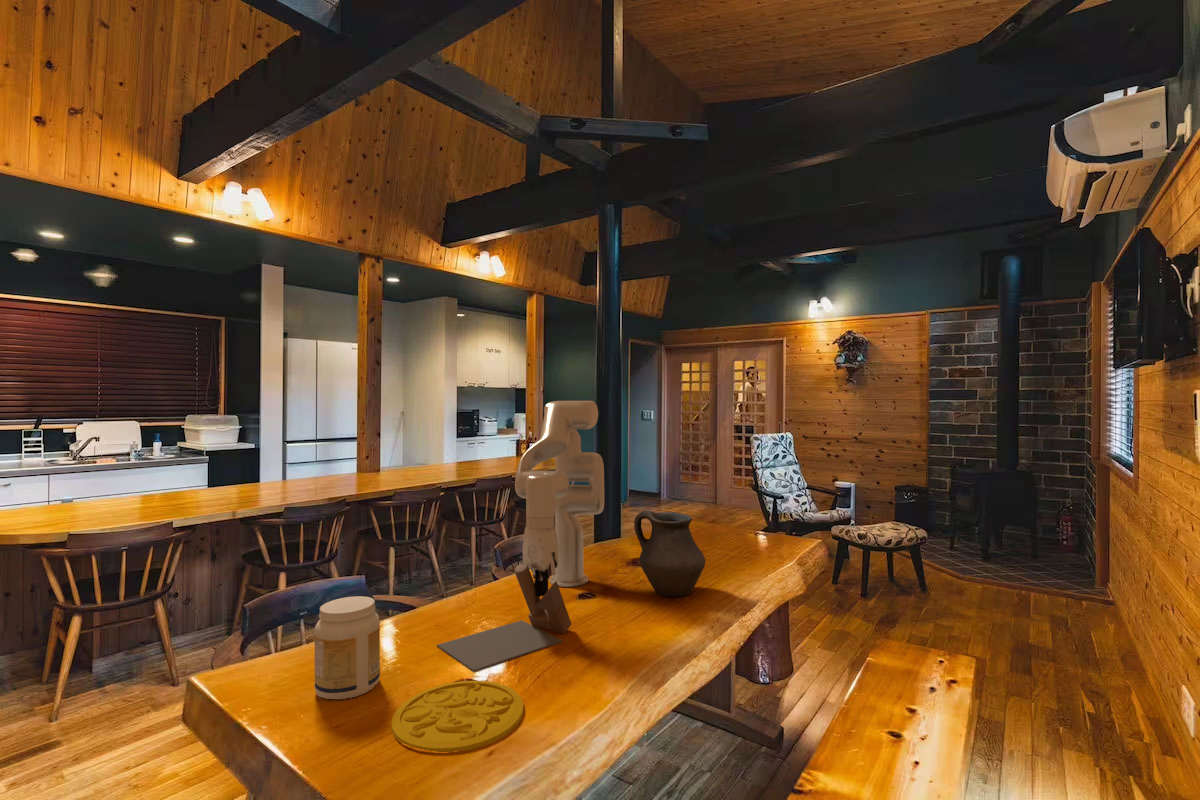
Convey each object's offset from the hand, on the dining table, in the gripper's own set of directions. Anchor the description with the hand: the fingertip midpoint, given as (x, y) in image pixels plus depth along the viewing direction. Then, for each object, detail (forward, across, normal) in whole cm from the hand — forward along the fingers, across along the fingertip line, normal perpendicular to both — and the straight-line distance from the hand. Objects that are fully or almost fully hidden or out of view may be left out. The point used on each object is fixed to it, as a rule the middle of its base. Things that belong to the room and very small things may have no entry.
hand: (541, 594), depth 145 cm
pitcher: (+9, +1, +47) cm, 48 cm away
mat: (+9, 0, -12) cm, 15 cm away
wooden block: (+9, 0, +3) cm, 9 cm away
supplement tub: (+10, -2, -47) cm, 48 cm away
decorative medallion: (+10, +23, -35) cm, 43 cm away
